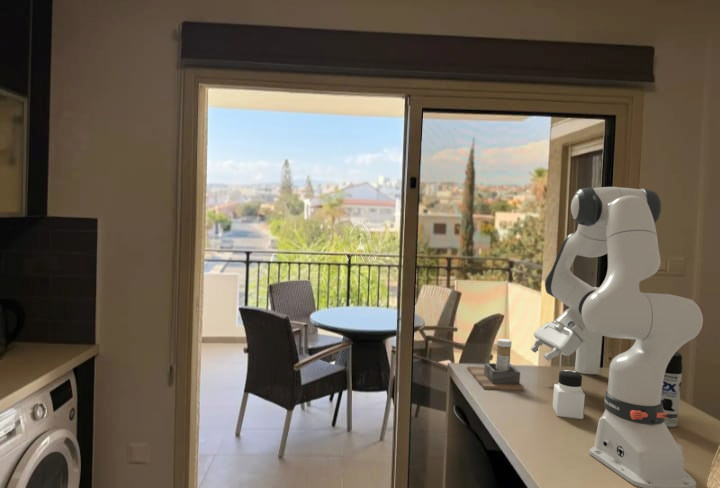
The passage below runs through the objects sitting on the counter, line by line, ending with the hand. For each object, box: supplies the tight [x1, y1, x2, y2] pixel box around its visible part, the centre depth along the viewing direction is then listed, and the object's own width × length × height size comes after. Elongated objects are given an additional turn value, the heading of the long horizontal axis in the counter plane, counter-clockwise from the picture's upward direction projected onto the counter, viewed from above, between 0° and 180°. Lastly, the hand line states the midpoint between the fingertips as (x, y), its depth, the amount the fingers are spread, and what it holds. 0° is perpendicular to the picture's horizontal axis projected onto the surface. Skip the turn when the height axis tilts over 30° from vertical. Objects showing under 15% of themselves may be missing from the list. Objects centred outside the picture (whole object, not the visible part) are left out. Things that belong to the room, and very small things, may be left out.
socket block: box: [466, 362, 525, 391], centre depth 171 cm, size 20×13×5 cm, turn 3°
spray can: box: [661, 351, 683, 429], centre depth 140 cm, size 7×7×20 cm
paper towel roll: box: [574, 328, 603, 375], centre depth 183 cm, size 7×6×21 cm
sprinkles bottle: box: [495, 338, 512, 371], centre depth 168 cm, size 5×5×14 cm
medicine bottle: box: [552, 369, 586, 420], centre depth 143 cm, size 7×7×12 cm
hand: (538, 354), depth 169 cm, fingers open, 8 cm apart
